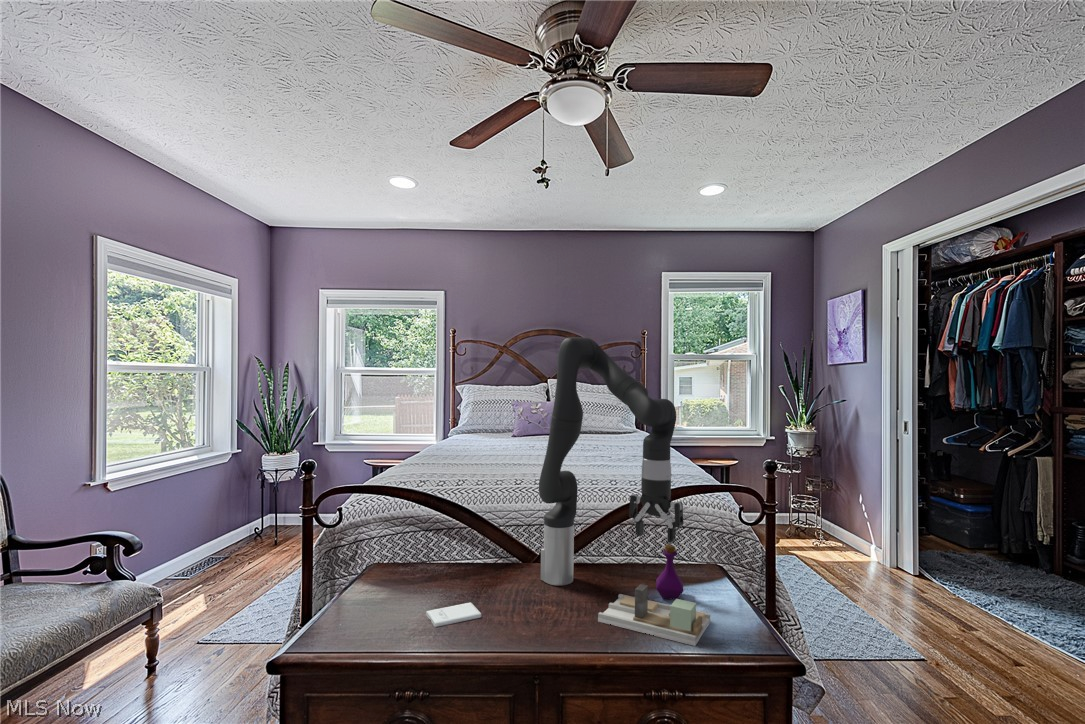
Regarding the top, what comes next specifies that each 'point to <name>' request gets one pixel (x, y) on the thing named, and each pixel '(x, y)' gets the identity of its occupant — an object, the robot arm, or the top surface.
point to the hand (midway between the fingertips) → (655, 538)
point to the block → (682, 614)
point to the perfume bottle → (669, 576)
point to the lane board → (623, 617)
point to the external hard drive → (453, 614)
